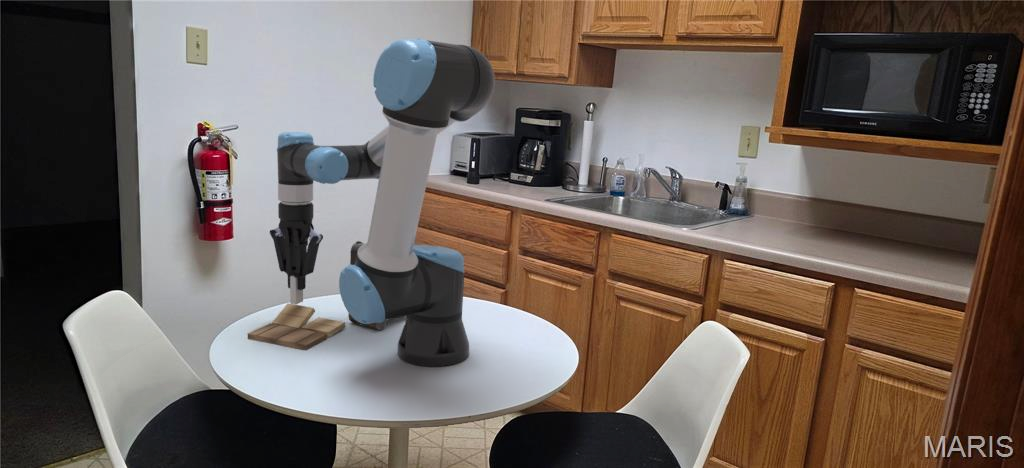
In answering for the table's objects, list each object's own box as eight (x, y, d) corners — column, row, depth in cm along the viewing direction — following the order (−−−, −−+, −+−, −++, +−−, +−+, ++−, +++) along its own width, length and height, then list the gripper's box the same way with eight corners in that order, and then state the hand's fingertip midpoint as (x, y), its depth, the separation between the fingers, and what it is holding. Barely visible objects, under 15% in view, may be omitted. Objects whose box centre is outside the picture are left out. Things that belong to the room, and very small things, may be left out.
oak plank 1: (315, 311, 156) (313, 307, 155) (299, 331, 151) (298, 327, 151) (289, 306, 158) (287, 303, 158) (273, 326, 154) (271, 322, 153)
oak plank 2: (345, 326, 155) (345, 321, 155) (328, 337, 149) (328, 332, 149) (318, 322, 157) (318, 316, 157) (301, 332, 151) (301, 326, 151)
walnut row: (326, 339, 148) (326, 333, 148) (305, 350, 141) (305, 344, 141) (270, 328, 153) (270, 322, 153) (247, 338, 146) (247, 332, 146)
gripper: (330, 202, 152) (330, 302, 157) (282, 196, 156) (283, 294, 161) (310, 207, 145) (310, 311, 150) (260, 201, 149) (262, 302, 154)
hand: (296, 302), depth 155 cm, fingers closed
